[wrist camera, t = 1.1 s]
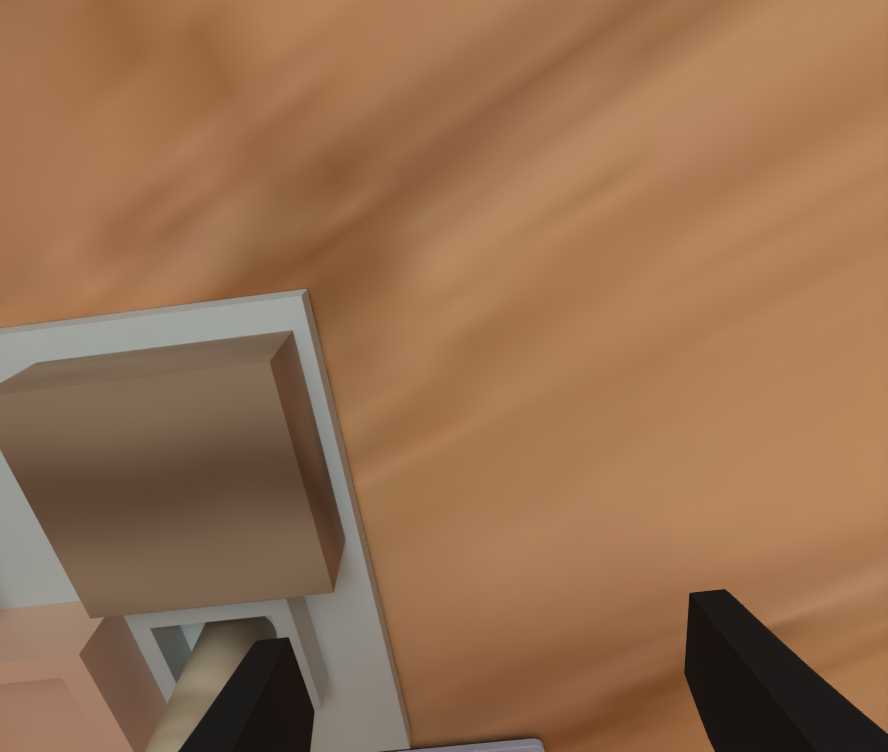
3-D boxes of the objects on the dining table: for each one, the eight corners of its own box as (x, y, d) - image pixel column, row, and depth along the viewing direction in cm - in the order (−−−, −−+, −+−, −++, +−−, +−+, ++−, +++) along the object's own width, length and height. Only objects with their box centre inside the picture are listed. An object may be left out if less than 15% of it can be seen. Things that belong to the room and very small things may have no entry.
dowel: (284, 654, 22) (221, 869, 15) (216, 661, 22) (126, 877, 16) (266, 603, 21) (190, 811, 14) (194, 610, 21) (87, 821, 14)
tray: (200, 761, 25) (175, 825, 22) (-13, 781, 25) (-59, 847, 23) (118, 596, 20) (78, 654, 18) (-134, 623, 21) (-204, 683, 19)
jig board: (410, 730, 25) (405, 856, 21) (-6, 770, 26) (-96, 900, 21) (307, 288, 17) (261, 343, 12) (-306, 367, 17) (-556, 446, 13)
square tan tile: (345, 539, 20) (333, 592, 17) (130, 563, 20) (90, 618, 18) (292, 330, 16) (269, 361, 14) (36, 362, 17) (-28, 398, 14)
